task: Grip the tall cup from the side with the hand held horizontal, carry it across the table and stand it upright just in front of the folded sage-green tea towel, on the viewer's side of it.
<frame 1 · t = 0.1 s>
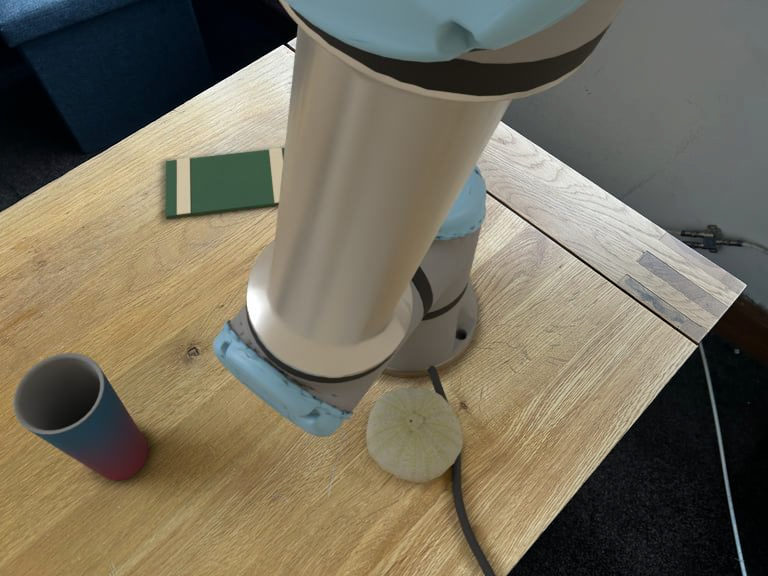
cup: (122, 455, 64), on the table
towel: (232, 183, 82), on the table
sea urchin shell: (412, 440, 65), on the table
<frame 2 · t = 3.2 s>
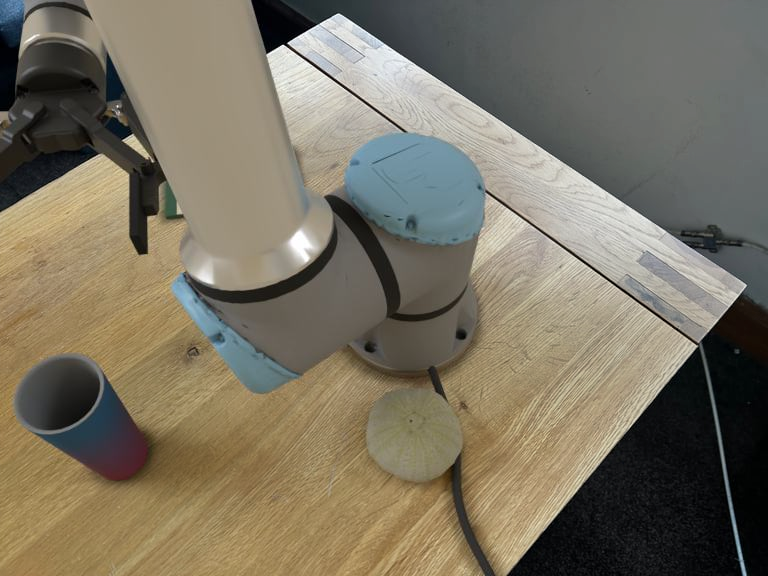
hand: (50, 257, 52), 19 cm above the table, tool horizontal, fingers open, 13 cm apart
nothing on the table moved.
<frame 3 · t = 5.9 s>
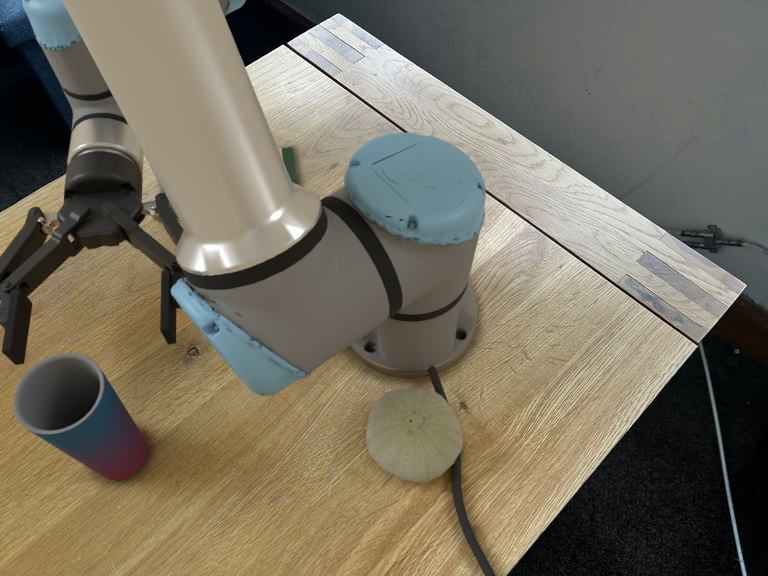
hand: (91, 348, 60), 9 cm above the table, tool horizontal, fingers open, 13 cm apart
nothing on the table moved.
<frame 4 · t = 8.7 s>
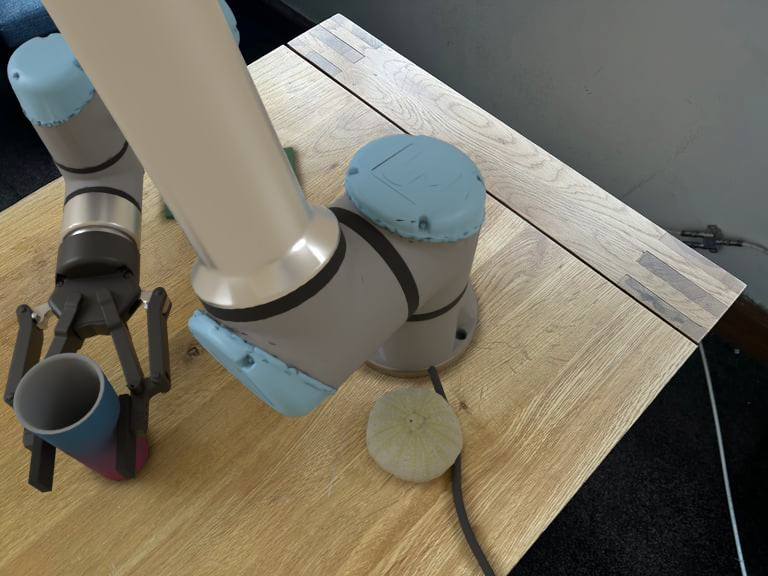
hand: (83, 480, 53), 9 cm above the table, tool horizontal, fingers closed on cup, 6 cm apart
cup: (122, 455, 64), on the table, touching gripper
everything else where it was.
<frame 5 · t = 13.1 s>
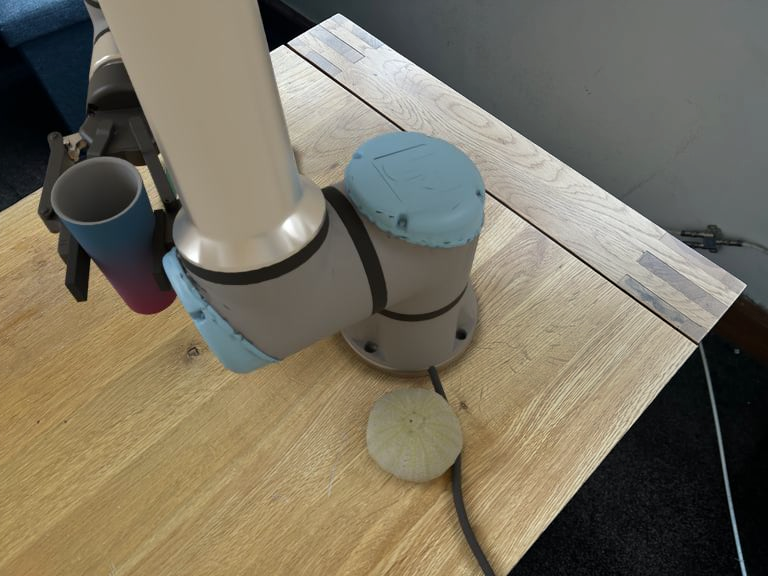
hand: (119, 287, 53), 18 cm above the table, tool horizontal, fingers closed on cup, 6 cm apart
cup: (152, 293, 63), point 9 cm above the table, touching gripper
everything else where it was.
when the fingers open (9 cm above the table, at t = 17.7 s): cup stays where it is, on the table.
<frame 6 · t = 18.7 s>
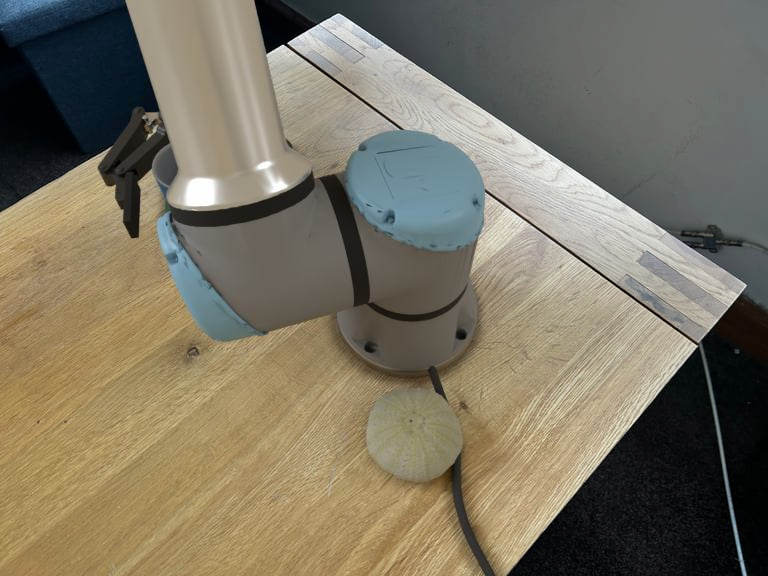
hand: (200, 222, 66), 10 cm above the table, tool horizontal, fingers open, 13 cm apart
cup: (218, 254, 77), on the table
everything else where it was.
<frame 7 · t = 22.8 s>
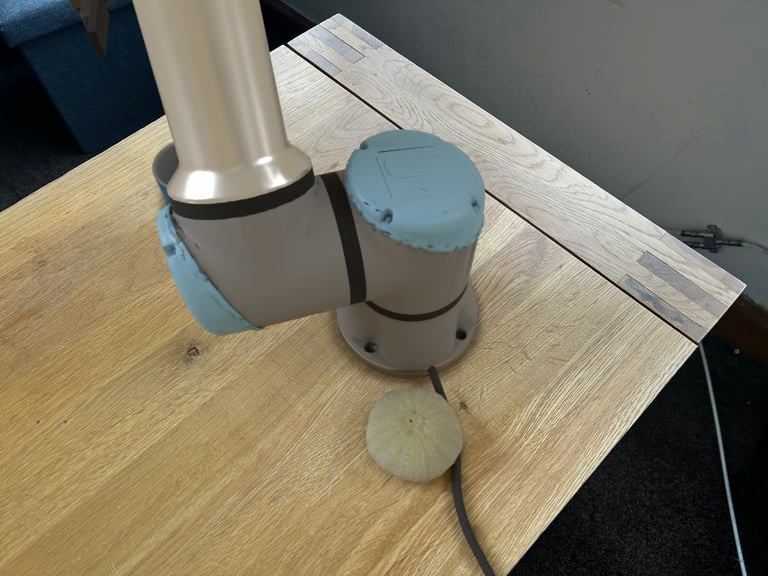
hand: (169, 37, 63), 22 cm above the table, tool horizontal, fingers open, 13 cm apart
nothing on the table moved.
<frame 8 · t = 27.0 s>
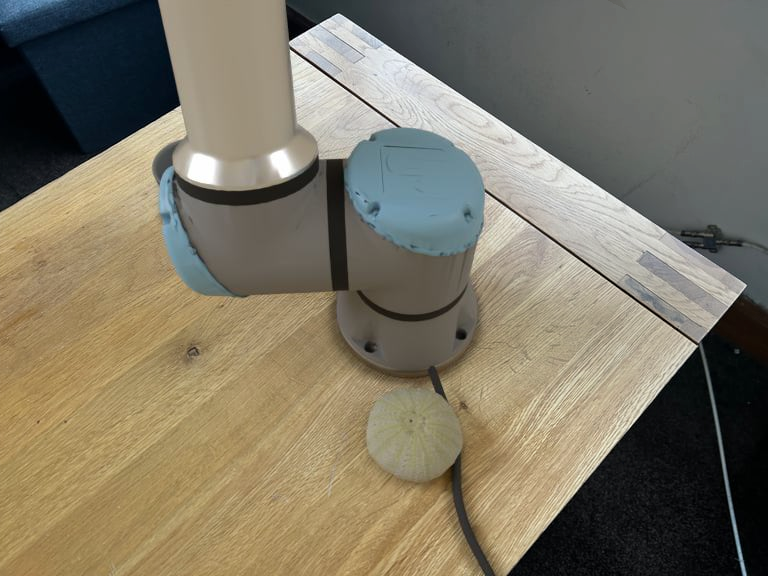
nothing on the table moved.
at the end: cup inside the target area on the table beside the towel (2.4 cm from its centre), on the table; cup tilted 0°; cup moved 24.7 cm from its start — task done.
